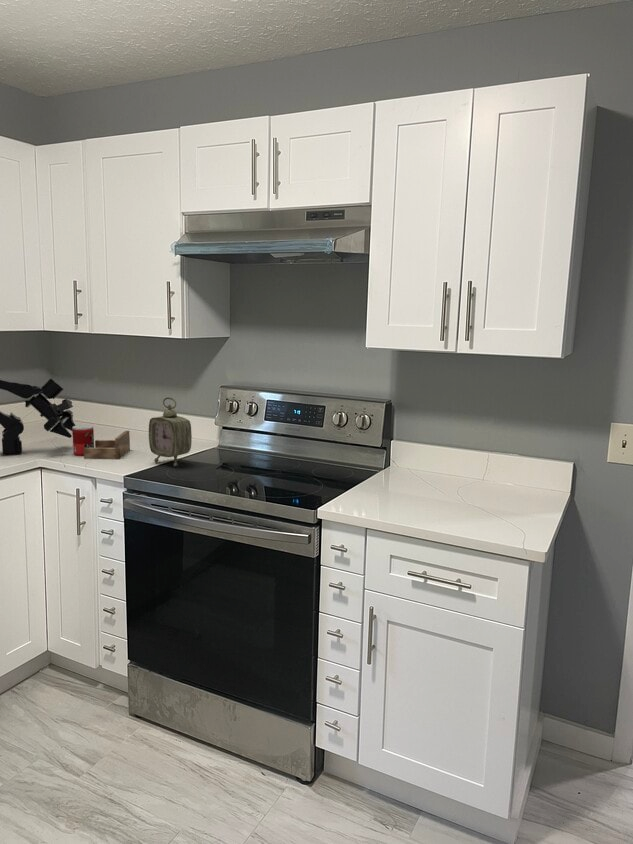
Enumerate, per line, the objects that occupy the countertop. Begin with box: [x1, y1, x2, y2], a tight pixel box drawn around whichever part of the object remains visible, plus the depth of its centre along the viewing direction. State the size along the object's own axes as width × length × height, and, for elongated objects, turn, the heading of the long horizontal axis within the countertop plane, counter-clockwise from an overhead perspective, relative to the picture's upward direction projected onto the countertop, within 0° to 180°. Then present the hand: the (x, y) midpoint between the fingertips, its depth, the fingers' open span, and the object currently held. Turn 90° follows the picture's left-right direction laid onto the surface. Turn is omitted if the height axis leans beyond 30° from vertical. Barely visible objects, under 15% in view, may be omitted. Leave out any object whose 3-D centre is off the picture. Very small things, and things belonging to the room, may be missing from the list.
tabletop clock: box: [148, 397, 193, 467], centre depth 238 cm, size 14×9×25 cm, turn 54°
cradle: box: [83, 430, 131, 460], centre depth 253 cm, size 14×16×8 cm
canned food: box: [71, 424, 95, 457], centre depth 252 cm, size 8×8×11 cm
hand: (74, 434), depth 256 cm, fingers open, 9 cm apart
